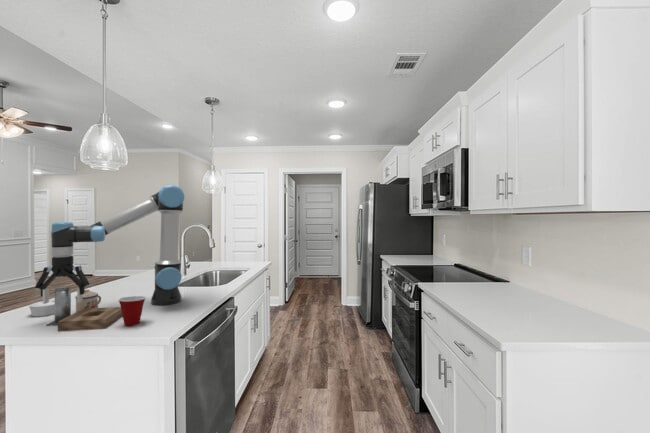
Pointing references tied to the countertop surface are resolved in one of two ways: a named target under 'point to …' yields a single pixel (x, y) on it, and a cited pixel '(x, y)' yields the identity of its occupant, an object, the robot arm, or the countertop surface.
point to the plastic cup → (131, 309)
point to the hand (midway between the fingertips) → (63, 302)
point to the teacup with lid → (88, 300)
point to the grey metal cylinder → (62, 303)
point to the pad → (52, 323)
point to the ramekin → (42, 308)
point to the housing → (90, 319)
